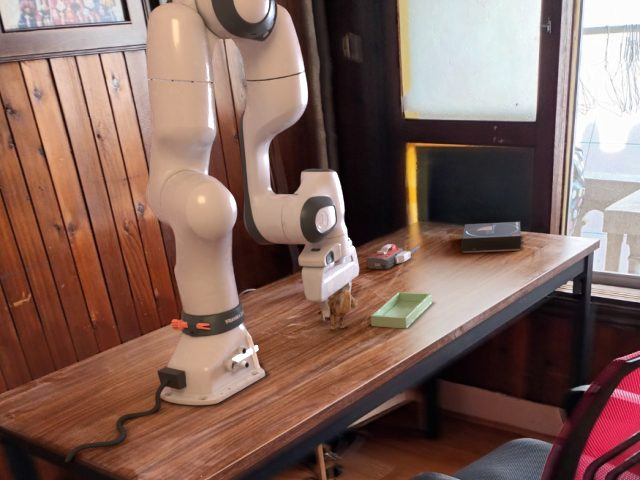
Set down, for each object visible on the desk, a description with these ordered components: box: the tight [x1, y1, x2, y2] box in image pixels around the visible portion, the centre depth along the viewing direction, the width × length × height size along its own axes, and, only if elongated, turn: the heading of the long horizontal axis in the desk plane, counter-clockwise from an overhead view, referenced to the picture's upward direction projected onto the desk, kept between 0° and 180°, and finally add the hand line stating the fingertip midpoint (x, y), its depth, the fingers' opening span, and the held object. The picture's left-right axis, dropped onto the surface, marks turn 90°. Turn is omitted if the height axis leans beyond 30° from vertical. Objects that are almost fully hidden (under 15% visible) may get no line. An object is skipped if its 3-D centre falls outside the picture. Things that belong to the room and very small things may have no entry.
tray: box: [370, 291, 433, 329], centre depth 177 cm, size 17×9×2 cm, turn 157°
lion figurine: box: [317, 290, 359, 331], centre depth 173 cm, size 15×5×9 cm, turn 33°
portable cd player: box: [460, 221, 522, 254], centre depth 222 cm, size 16×17×4 cm
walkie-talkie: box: [366, 243, 421, 271], centre depth 215 cm, size 9×4×20 cm
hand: (337, 308), depth 172 cm, fingers open, 8 cm apart
